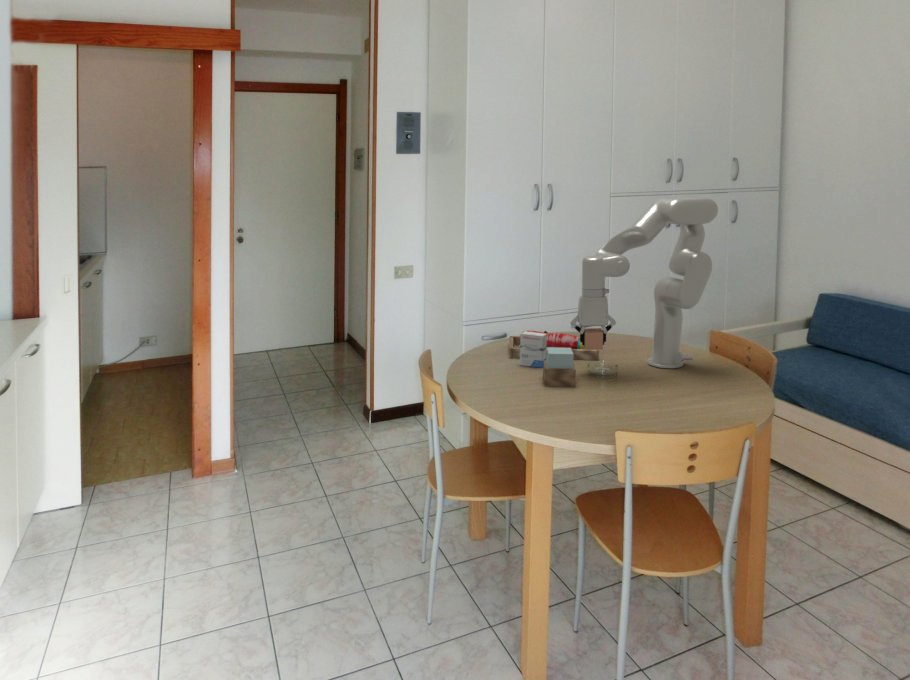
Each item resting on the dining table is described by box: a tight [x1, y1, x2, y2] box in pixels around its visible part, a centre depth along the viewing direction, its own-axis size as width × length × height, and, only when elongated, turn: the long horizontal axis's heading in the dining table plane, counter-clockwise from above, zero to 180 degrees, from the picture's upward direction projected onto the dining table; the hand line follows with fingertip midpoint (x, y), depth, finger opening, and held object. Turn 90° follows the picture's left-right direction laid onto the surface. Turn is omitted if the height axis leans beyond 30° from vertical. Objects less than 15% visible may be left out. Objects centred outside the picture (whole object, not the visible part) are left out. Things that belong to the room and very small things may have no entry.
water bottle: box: [519, 330, 585, 350], centre depth 275 cm, size 12×8×25 cm
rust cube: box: [583, 327, 604, 350], centre depth 244 cm, size 6×6×6 cm
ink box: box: [519, 330, 547, 369], centre depth 255 cm, size 8×5×12 cm, turn 65°
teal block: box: [546, 347, 574, 369], centre depth 236 cm, size 8×8×5 cm
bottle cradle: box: [508, 335, 600, 361], centre depth 273 cm, size 33×20×4 cm, turn 86°
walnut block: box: [542, 361, 577, 388], centre depth 237 cm, size 10×10×6 cm
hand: (592, 343), depth 245 cm, fingers closed on rust cube, 6 cm apart
